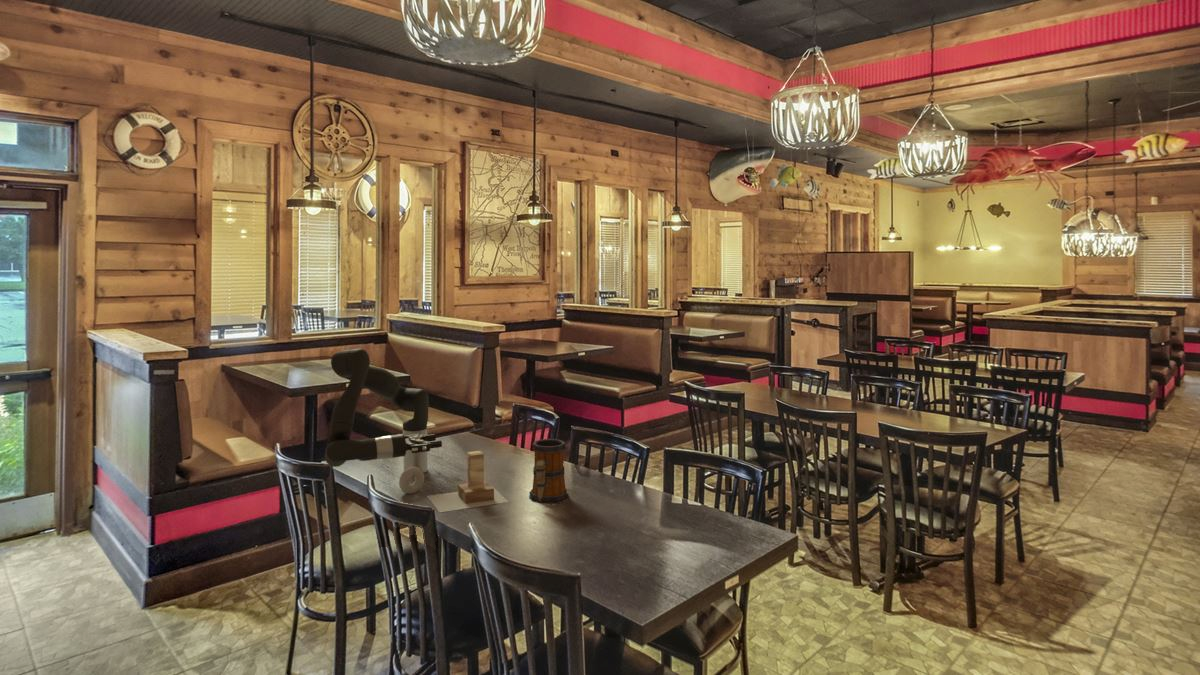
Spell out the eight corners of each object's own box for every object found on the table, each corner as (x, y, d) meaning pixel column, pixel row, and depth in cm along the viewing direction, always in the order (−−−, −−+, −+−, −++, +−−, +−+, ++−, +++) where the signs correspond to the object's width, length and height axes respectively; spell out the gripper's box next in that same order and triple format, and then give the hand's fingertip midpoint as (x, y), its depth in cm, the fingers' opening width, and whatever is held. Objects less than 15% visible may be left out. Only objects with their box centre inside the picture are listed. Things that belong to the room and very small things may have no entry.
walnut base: (458, 495, 244) (457, 484, 244) (485, 491, 248) (485, 480, 248) (465, 504, 235) (465, 492, 235) (494, 499, 240) (494, 488, 239)
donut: (403, 498, 242) (402, 470, 241) (397, 496, 244) (396, 469, 243) (426, 491, 249) (426, 464, 248) (420, 489, 252) (420, 462, 250)
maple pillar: (467, 485, 242) (467, 452, 241) (480, 483, 244) (479, 450, 243) (471, 489, 238) (470, 455, 237) (483, 487, 240) (483, 453, 239)
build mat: (427, 497, 243) (427, 495, 243) (492, 488, 254) (492, 486, 254) (439, 513, 227) (439, 512, 227) (508, 503, 238) (508, 501, 238)
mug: (559, 511, 230) (560, 453, 228) (518, 508, 233) (518, 450, 231) (573, 493, 249) (573, 438, 247) (535, 490, 252) (535, 436, 250)
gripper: (393, 441, 221) (443, 434, 228) (385, 430, 234) (433, 424, 241) (394, 463, 222) (444, 456, 229) (386, 451, 235) (433, 445, 242)
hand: (438, 440), depth 235 cm, fingers open, 8 cm apart
